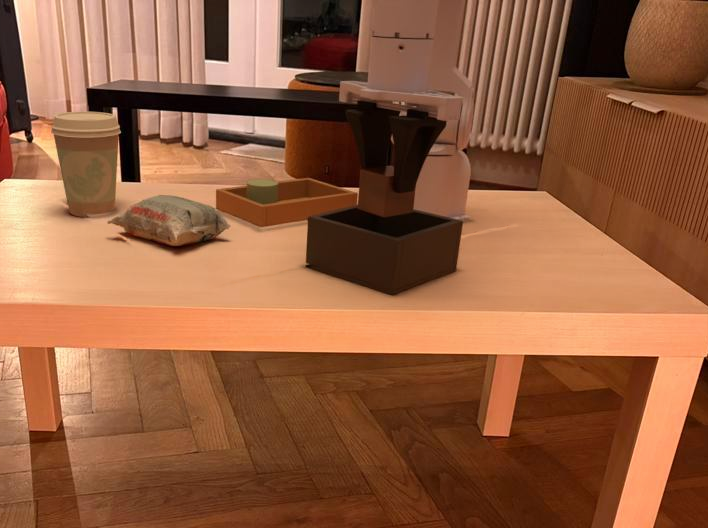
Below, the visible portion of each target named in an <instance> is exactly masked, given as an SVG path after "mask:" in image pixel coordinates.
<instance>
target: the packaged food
mask: <svg viewBox="0 0 708 528" xmlns="http://www.w3.org/2000/svg"><path fill="white" fill-rule="evenodd" d="M107 224H112V225H115V226H119V227H120V228H123V231H125V232H126V233H127V234H130V235H131V236H134V237H137V238H140V239H145V240H149V241H152V242H156V243H157V244H160V245H163V246H169V247H182V246H187V245H193V244H197V243H202V242H205V241H209V240H212V239H215V238H216V237H218V236H220V235H221V234H222V233H223V232H224V231H226V230H229V229H230V228H231V225H230V224H229V222H228V221H227V220H226V218H225V217H223V215H222V214H221V213H220V212H219V211H218V210H217V209H216V208H215V207H212V206H211V205H208V204H205V203H202V202H198V201H195V200H193V199H192V200H191V199H188V198H184V197H180V196H177V195H168V194H167V195H165V194H158V195H155V196H151V197H148V198H145V199H142V200H141V201H138V202H137V203H134V204H133V205H131V206H129V207H128V208H126V211H124V212H123V213H121V212H120V213H118V215H116V216H115V217H113V218H110V219H109V220H107Z"/></svg>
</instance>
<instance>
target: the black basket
mask: <svg viewBox="0 0 708 528" xmlns="http://www.w3.org/2000/svg"><path fill="white" fill-rule="evenodd" d="M357 207H358V204H357V205H354V206H350V207H346V208H342V209H338V210H334V211H329V212H325V213H321V214H317V215H312V216H308V220H307V231H306V249H305V264H306V265H305V268H308V269H311V270H314V271H318V272H321V273H323V274H327V275H330V276H334V277H335V278H339V279H342V280H345V281H348V282H351V283H355V284H357V285H361V286H363V287H366V288H369V289H373V290H376V291H379V292H382V293H385V294H388V295H391V296H393V295H394V296H395V295H396V294H400V293H401V292H404V291H407V290H409V289H413V288H414V287H415V288H416V287H417V286H420V285H422V284H426V283H428V282H430V281H433V280H435V279H438V278H440V277H443V276H444V277H445V276H446V275H448V274H451V273H454V272H456V271H457V267H458V260H459V253H460V246H461V240H462V232H463V225H464V221H463V220H462V219H460V220H457V219H453V218H449V217H445V216H440V215H436V214H432V213H428V212H423V211H419V210H415V209H413V213H409V214H403V215H397V216H391V217H385V218H384V217H381V216H378V215H375V214H371V213H368V212H365V211H362V210H359V209H358V208H357Z"/></svg>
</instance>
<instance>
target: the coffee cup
mask: <svg viewBox="0 0 708 528" xmlns="http://www.w3.org/2000/svg"><path fill="white" fill-rule="evenodd" d="M120 128H121V126H120V124H119V122H118V119H117V116H116V115H115V114H113V113H108V112H103V111H102V112H101V111H69V112H67V111H66V112H60V113H57V114H55V115H54V116H53V122H52V125H51V132H50V133H51V135H53V138H54V143H55V149H56V153H57V158H58V162H59V163H58V164H59V168H60V172H61V178H62V183H63V189H64V192H65V193H64V194H65V197H66V203H67V207H68V212H69V214H71V215H72V216H76V217H80V218H90V216H89V215H98V214H99V215H100V214H107V213H110V212H113V211H114V210H115V209H116V197H117V195H116V193H117V174H118V155H119V137H120V136H119V134H121V133H122V131H121V129H120Z"/></svg>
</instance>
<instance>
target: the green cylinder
mask: <svg viewBox="0 0 708 528" xmlns="http://www.w3.org/2000/svg"><path fill="white" fill-rule="evenodd" d="M278 182H279V181H276V180H273V179H265V178H264V179H263V178H261V179H258V178H256V179H250V180H248V181H247V182H246V185H247V199H249V200H252V201H254V202H257V203H260V204H262V205H265V204H272V203H277V202H278Z"/></svg>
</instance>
